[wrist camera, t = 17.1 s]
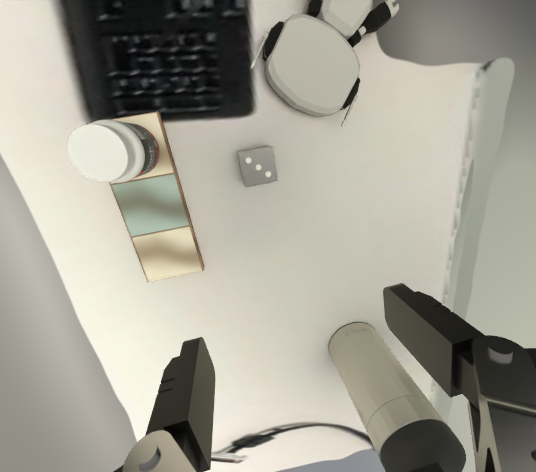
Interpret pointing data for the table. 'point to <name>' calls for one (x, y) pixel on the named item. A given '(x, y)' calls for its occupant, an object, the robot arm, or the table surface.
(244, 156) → the die
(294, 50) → the robot toy
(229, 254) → the table surface
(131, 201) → the board
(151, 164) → the pill bottle
